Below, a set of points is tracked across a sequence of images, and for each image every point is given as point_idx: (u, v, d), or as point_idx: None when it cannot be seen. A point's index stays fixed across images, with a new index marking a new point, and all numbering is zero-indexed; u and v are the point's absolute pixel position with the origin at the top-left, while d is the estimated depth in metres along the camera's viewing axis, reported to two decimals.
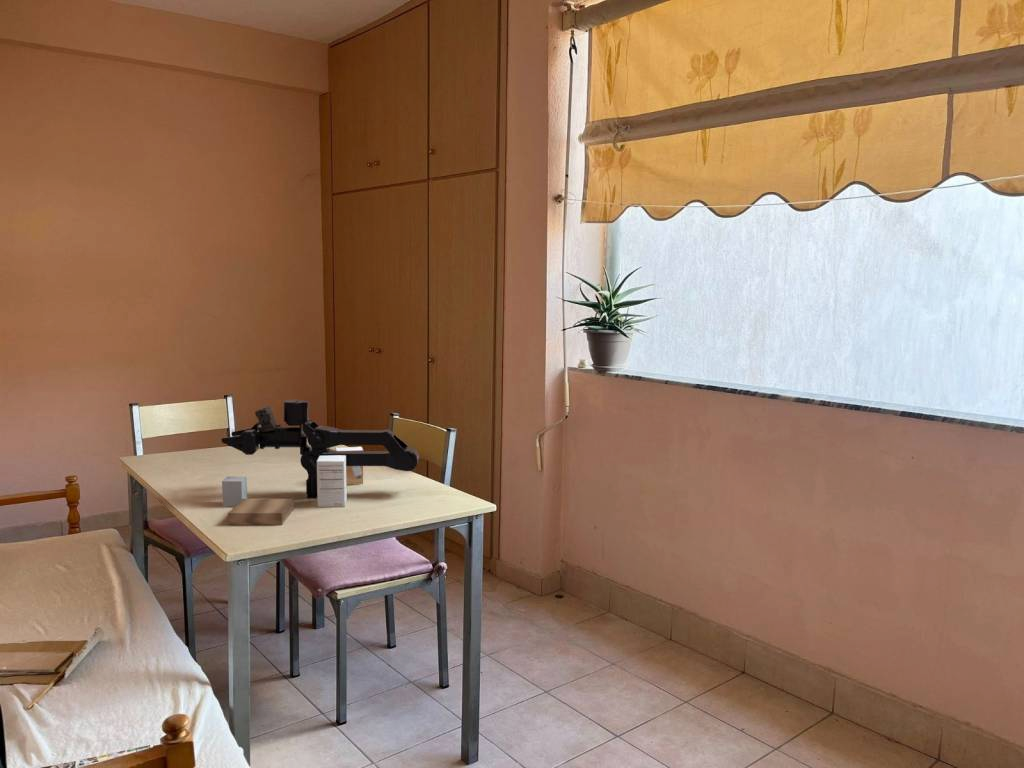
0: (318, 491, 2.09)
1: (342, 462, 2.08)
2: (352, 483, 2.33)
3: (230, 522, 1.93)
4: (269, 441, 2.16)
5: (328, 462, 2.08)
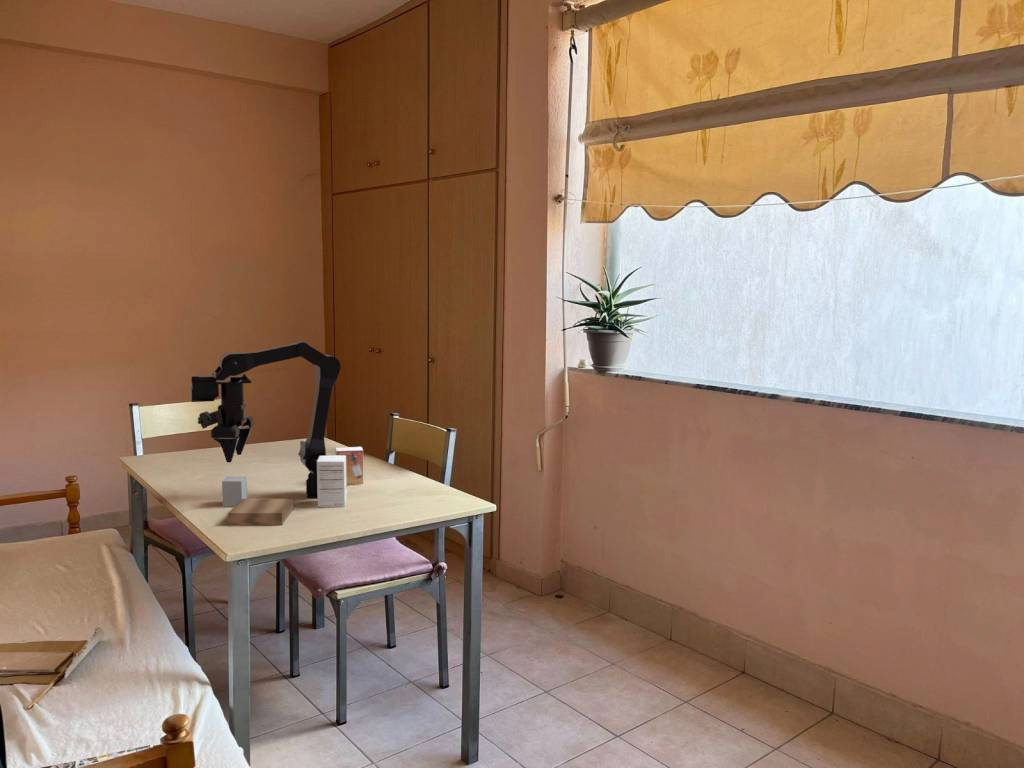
0: (318, 491, 2.09)
1: (342, 462, 2.08)
2: (352, 483, 2.33)
3: (230, 522, 1.93)
4: (232, 414, 2.05)
5: (328, 462, 2.08)
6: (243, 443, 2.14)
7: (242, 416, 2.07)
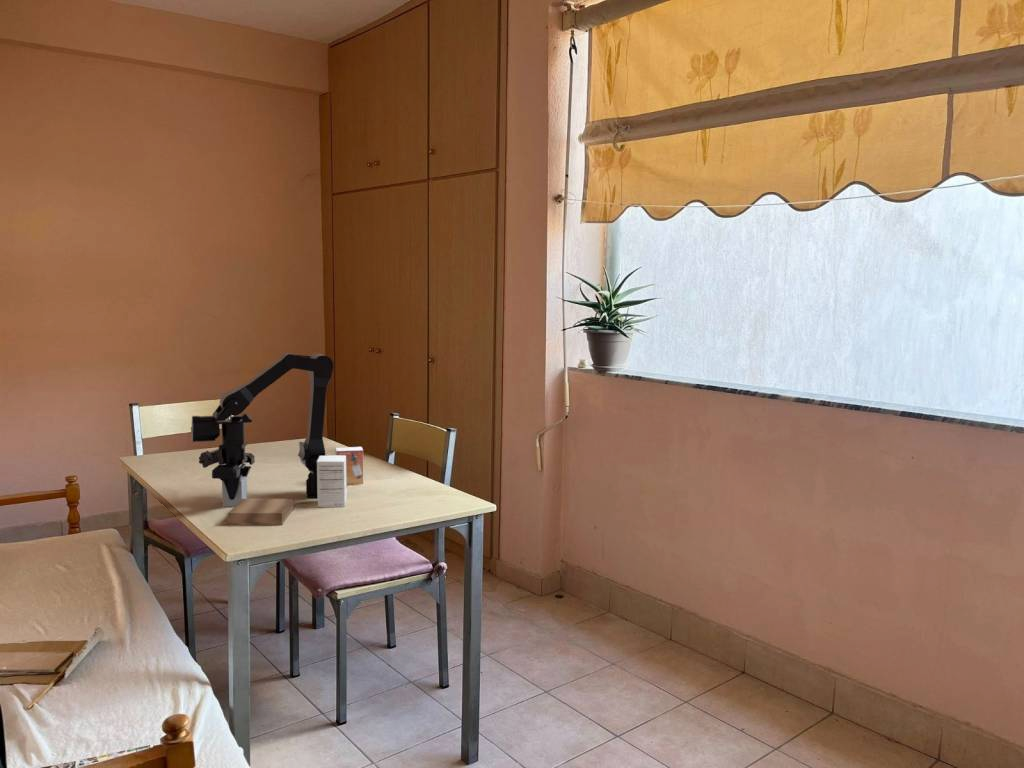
0: (318, 491, 2.09)
1: (342, 462, 2.08)
2: (352, 483, 2.33)
3: (230, 522, 1.93)
4: (233, 453, 2.06)
5: (328, 462, 2.08)
6: None
7: (243, 455, 2.08)
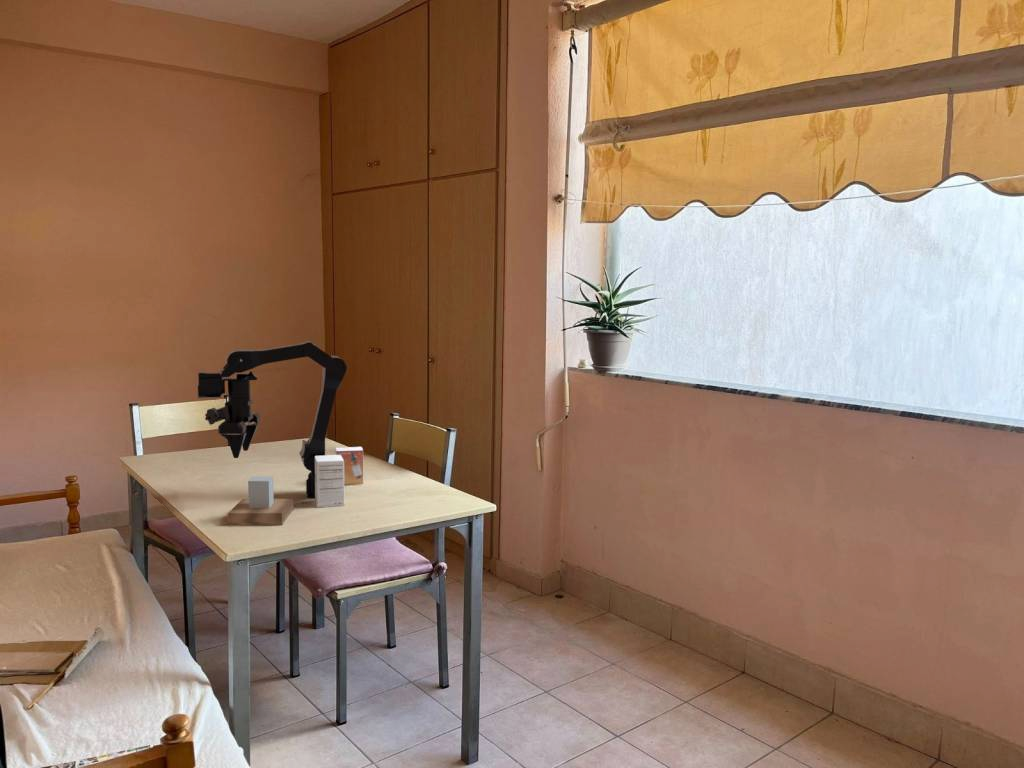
0: (318, 491, 2.08)
1: (342, 461, 2.09)
2: (352, 483, 2.33)
3: (230, 522, 1.93)
4: (239, 410, 2.08)
5: (328, 462, 2.08)
6: (250, 439, 2.17)
7: (249, 412, 2.10)
